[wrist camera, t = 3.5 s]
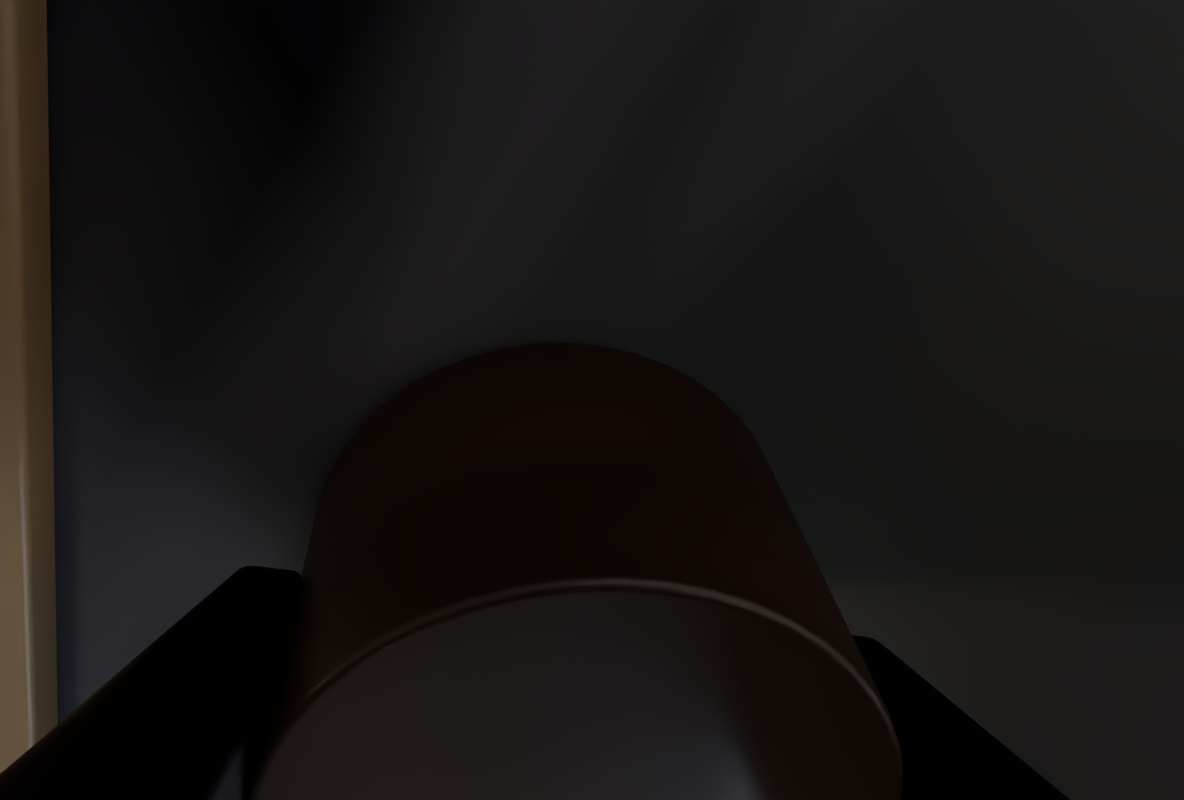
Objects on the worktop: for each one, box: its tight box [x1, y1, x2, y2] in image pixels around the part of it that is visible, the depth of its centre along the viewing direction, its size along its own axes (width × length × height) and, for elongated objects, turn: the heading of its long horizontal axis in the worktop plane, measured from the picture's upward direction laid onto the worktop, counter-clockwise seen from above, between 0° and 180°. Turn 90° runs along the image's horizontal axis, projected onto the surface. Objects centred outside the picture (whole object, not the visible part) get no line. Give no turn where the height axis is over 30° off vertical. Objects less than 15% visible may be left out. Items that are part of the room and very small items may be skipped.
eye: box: [248, 343, 903, 800], centre depth 7 cm, size 4×4×3 cm
